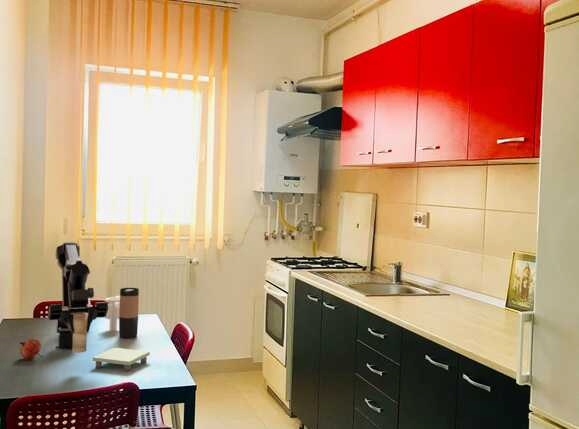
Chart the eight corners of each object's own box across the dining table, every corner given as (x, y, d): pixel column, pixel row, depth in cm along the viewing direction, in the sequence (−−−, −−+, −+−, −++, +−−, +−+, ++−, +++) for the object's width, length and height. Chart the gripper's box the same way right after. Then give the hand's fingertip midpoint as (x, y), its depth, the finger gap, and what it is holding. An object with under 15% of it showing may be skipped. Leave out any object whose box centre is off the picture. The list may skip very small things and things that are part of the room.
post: (77, 348, 204) (78, 311, 203) (89, 350, 203) (90, 313, 202) (69, 351, 199) (70, 314, 199) (81, 353, 198) (82, 315, 198)
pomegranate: (35, 361, 219) (11, 347, 214) (48, 344, 220) (25, 330, 216) (37, 368, 212) (13, 354, 208) (51, 351, 214) (27, 337, 209)
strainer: (121, 331, 259) (121, 297, 259) (103, 332, 258) (104, 297, 257) (122, 328, 266) (122, 294, 266) (105, 328, 265) (106, 294, 264)
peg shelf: (114, 357, 219) (114, 347, 219) (149, 361, 215) (149, 351, 215) (92, 368, 205) (92, 357, 205) (128, 372, 202) (129, 361, 202)
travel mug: (131, 333, 256) (133, 287, 256) (141, 337, 251) (142, 289, 250) (115, 336, 251) (116, 288, 250) (124, 339, 246) (125, 291, 245)
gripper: (50, 280, 200) (52, 320, 190) (108, 278, 208) (112, 317, 198) (47, 299, 207) (49, 339, 198) (103, 297, 215) (108, 335, 206)
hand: (80, 332), depth 200 cm, fingers closed on post, 4 cm apart
